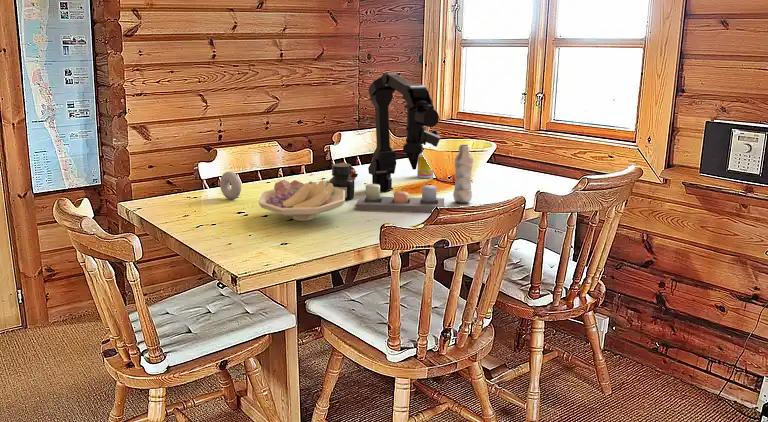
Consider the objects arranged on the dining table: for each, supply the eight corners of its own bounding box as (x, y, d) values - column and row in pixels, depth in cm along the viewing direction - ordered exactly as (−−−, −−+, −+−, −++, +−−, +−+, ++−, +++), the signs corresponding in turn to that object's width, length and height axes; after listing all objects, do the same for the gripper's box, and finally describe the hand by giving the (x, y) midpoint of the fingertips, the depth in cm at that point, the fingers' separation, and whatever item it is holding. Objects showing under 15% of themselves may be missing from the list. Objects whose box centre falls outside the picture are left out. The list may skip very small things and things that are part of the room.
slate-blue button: (421, 201, 226) (421, 188, 225) (422, 197, 231) (422, 185, 230) (436, 201, 226) (436, 188, 225) (436, 198, 231) (436, 185, 229)
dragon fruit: (335, 183, 274) (354, 192, 266) (323, 173, 267) (342, 182, 259) (346, 165, 275) (366, 174, 267) (334, 155, 268) (354, 164, 260)
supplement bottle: (434, 178, 276) (434, 147, 272) (417, 178, 276) (418, 147, 272) (433, 175, 282) (433, 144, 279) (417, 175, 282) (417, 144, 279)
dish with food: (310, 235, 197) (309, 187, 193) (239, 221, 211) (237, 176, 207) (364, 215, 220) (364, 171, 216) (296, 203, 234) (295, 163, 230)
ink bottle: (323, 198, 242) (322, 164, 239) (341, 194, 248) (341, 161, 245) (342, 202, 236) (342, 168, 233) (360, 198, 242) (360, 165, 239)
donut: (243, 200, 237) (242, 172, 235) (235, 202, 235) (234, 174, 232) (226, 196, 244) (225, 168, 241) (218, 198, 241) (217, 170, 239)
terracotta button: (393, 207, 228) (393, 194, 227) (394, 203, 233) (394, 191, 231) (407, 207, 227) (407, 194, 226) (408, 204, 232) (408, 191, 231)
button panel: (355, 210, 226) (355, 204, 225) (360, 201, 237) (360, 195, 237) (443, 212, 223) (443, 206, 222) (444, 203, 234) (444, 198, 234)
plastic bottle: (473, 201, 239) (475, 144, 234) (469, 205, 233) (471, 147, 228) (455, 199, 241) (457, 143, 236) (451, 203, 235) (452, 146, 230)
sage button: (364, 199, 228) (364, 186, 227) (366, 196, 233) (366, 183, 232) (379, 199, 228) (379, 187, 227) (380, 196, 232) (380, 184, 231)
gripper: (437, 127, 218) (436, 175, 222) (441, 120, 235) (439, 164, 239) (403, 126, 219) (402, 174, 223) (408, 119, 237) (408, 163, 241)
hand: (414, 169), depth 232 cm, fingers closed
